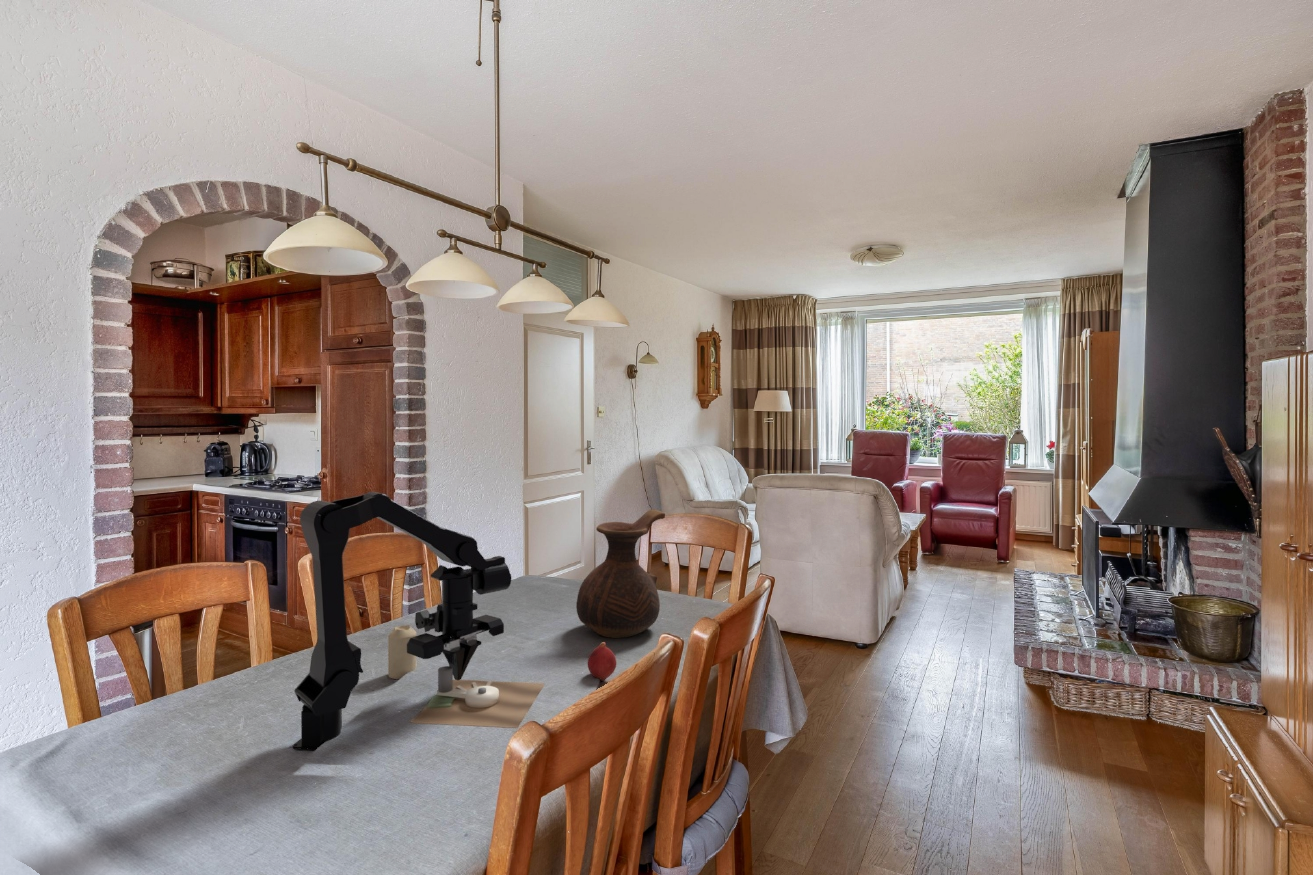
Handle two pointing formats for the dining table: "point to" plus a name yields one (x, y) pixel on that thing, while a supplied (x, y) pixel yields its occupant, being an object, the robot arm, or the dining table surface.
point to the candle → (400, 652)
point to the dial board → (502, 714)
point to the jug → (620, 584)
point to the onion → (601, 662)
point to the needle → (473, 696)
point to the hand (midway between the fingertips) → (457, 679)
